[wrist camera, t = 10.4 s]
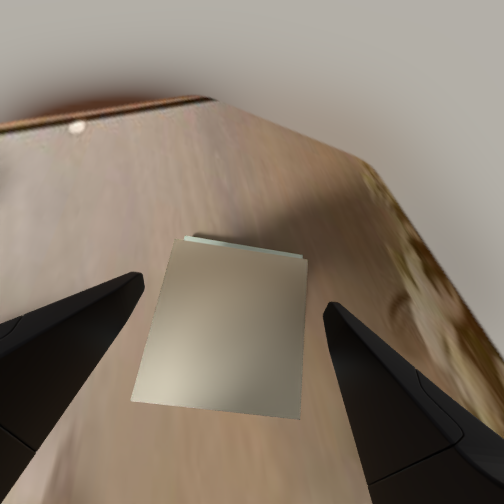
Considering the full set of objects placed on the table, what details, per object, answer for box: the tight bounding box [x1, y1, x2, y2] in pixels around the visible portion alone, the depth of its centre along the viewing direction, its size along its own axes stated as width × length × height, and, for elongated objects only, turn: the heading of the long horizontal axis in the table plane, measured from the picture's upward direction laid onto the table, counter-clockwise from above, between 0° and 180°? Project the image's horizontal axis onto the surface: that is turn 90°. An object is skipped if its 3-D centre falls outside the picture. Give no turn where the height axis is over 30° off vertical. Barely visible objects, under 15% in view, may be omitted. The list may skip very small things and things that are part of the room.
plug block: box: [131, 239, 308, 420], centre depth 10 cm, size 4×4×12 cm
